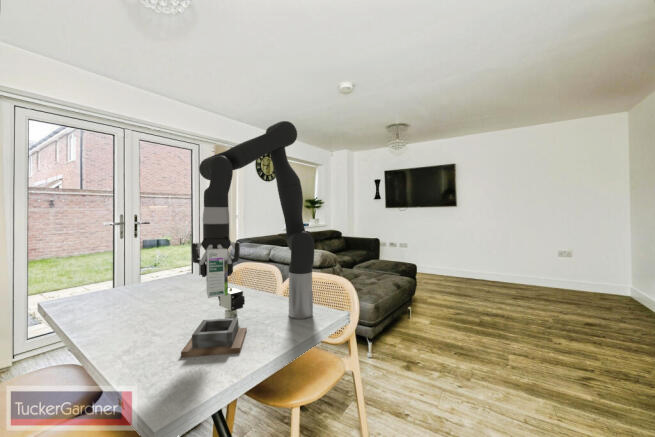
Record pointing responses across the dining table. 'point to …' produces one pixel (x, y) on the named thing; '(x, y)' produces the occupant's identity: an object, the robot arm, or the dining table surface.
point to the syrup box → (217, 272)
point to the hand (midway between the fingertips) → (216, 275)
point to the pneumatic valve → (232, 302)
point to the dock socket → (215, 338)
